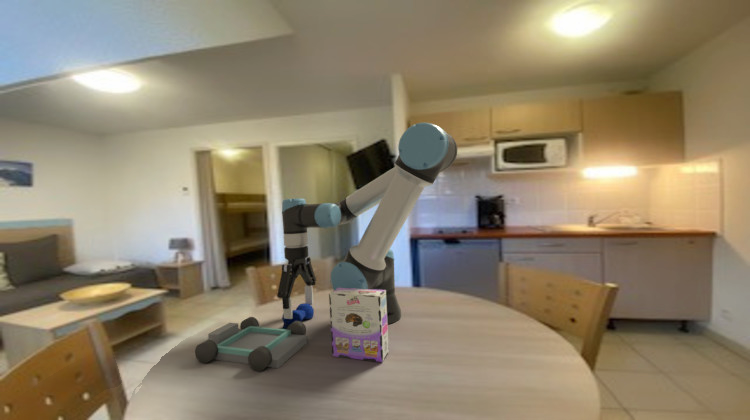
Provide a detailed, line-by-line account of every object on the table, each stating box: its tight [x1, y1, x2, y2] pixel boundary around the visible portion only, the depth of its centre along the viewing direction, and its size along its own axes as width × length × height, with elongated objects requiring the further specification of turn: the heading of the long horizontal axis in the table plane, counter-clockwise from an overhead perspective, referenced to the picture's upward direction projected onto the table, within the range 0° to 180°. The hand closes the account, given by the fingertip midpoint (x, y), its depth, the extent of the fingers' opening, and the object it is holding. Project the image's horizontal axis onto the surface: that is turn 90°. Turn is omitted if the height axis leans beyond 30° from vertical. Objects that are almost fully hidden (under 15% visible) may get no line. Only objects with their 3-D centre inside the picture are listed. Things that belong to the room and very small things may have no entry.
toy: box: [281, 302, 315, 330], centre depth 106 cm, size 7×6×15 cm
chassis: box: [194, 316, 308, 372], centre depth 88 cm, size 24×19×5 cm
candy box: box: [328, 288, 390, 363], centre depth 83 cm, size 14×6×16 cm, turn 71°
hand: (299, 311), depth 106 cm, fingers closed on toy, 13 cm apart
